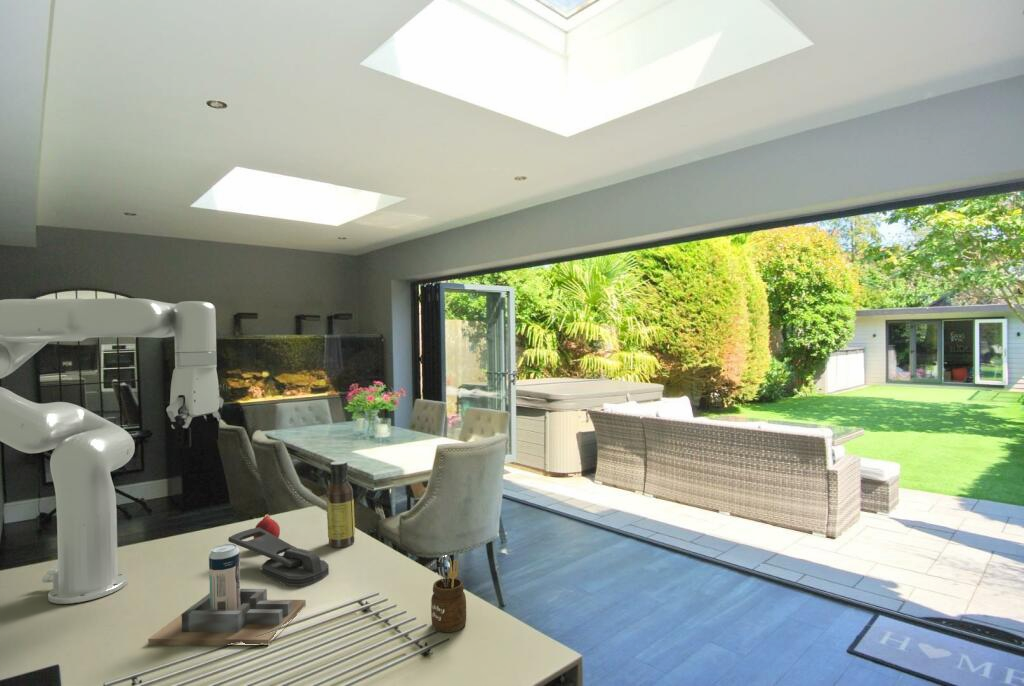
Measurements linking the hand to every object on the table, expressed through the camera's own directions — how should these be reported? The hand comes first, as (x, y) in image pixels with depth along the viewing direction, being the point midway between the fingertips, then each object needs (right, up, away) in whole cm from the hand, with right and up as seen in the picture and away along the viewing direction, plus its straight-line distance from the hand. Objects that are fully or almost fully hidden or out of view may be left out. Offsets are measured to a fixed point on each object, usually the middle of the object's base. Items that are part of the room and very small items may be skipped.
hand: (197, 443), depth 116 cm
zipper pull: (+15, -28, +4) cm, 32 cm away
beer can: (+15, -27, -19) cm, 36 cm away
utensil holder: (+55, -27, -21) cm, 65 cm away
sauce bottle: (+24, -28, +20) cm, 42 cm away
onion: (+7, -28, +18) cm, 34 cm away
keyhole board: (+17, -28, -19) cm, 38 cm away
